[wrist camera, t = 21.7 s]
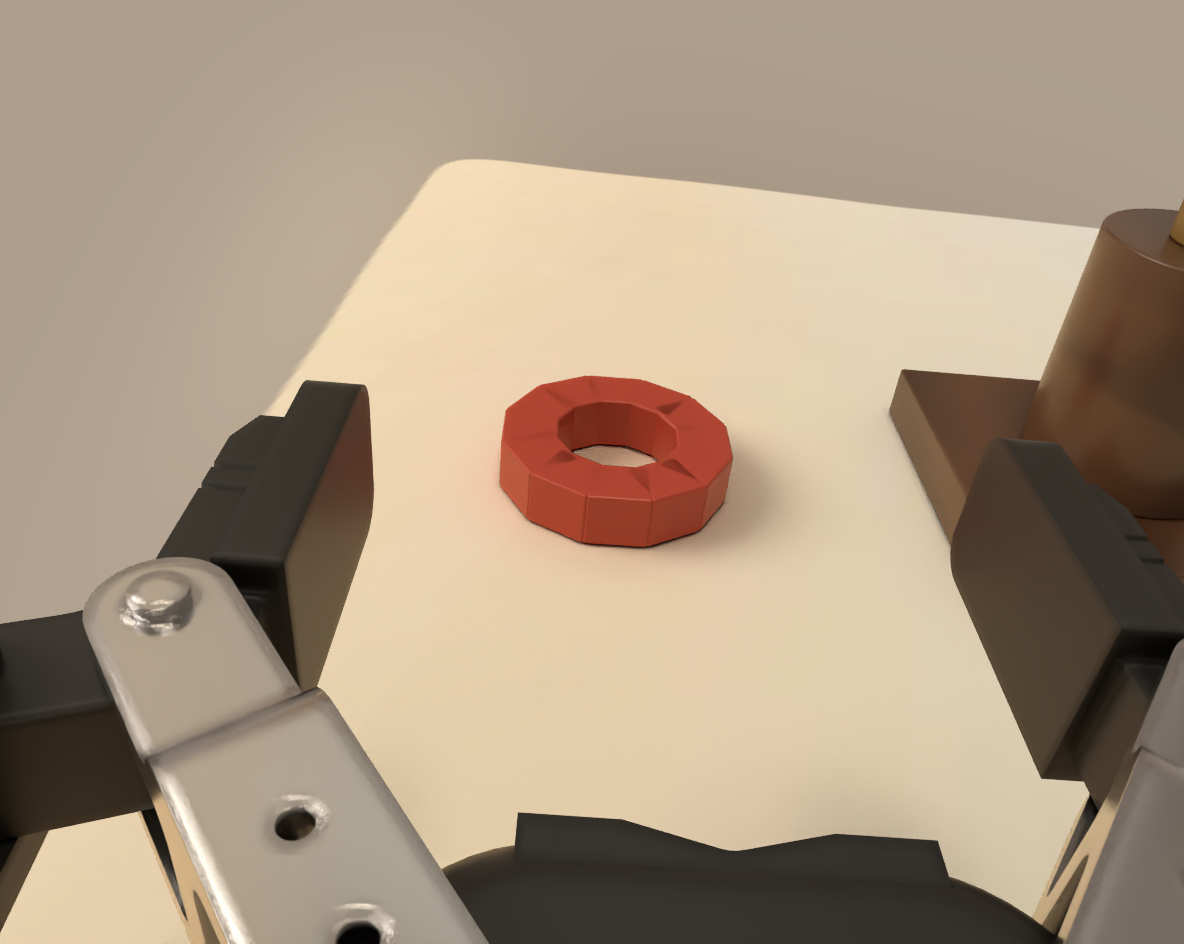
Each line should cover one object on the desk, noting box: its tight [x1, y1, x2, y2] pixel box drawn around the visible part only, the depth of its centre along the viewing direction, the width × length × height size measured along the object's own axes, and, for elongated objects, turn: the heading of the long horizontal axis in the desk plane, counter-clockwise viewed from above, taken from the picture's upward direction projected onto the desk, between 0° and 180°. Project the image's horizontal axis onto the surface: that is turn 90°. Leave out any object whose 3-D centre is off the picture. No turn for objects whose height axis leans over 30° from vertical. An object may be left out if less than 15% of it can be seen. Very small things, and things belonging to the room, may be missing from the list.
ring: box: [500, 376, 733, 547], centre depth 25 cm, size 6×6×1 cm
